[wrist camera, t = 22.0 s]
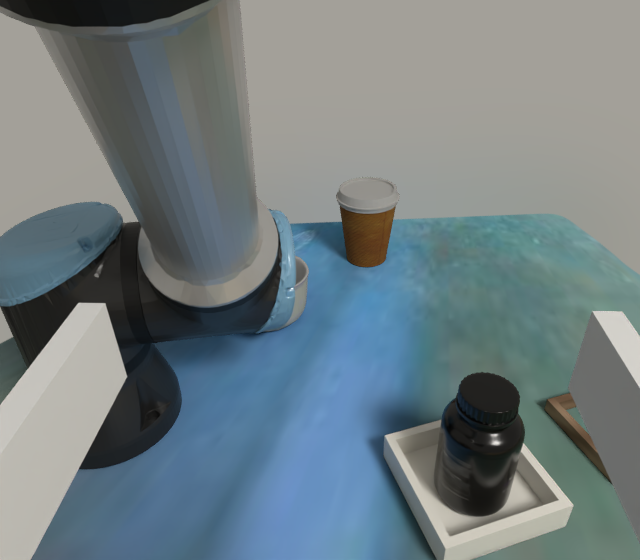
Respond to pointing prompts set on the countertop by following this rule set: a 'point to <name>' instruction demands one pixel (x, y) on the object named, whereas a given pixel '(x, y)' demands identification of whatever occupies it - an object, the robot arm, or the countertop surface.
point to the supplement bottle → (479, 445)
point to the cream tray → (462, 530)
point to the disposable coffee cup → (367, 218)
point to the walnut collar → (573, 428)
